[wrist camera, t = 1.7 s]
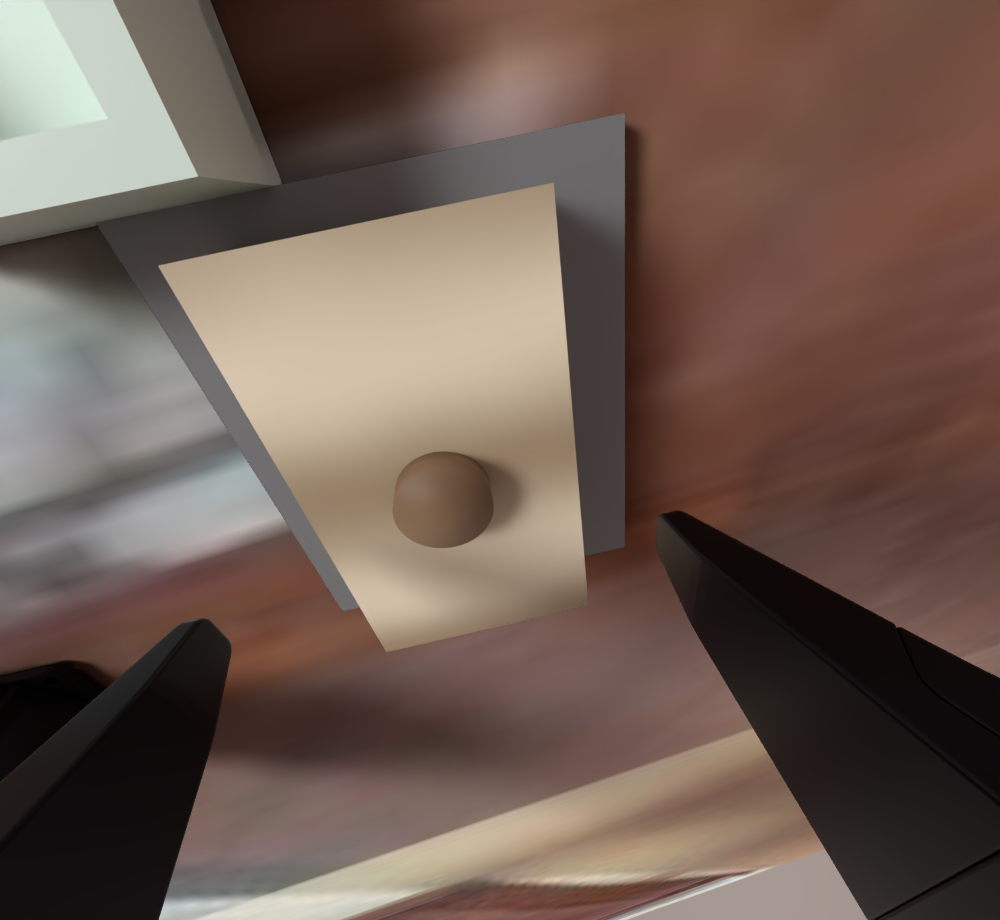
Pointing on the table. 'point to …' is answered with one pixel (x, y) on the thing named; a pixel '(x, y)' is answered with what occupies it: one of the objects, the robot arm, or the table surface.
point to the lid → (414, 404)
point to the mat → (407, 188)
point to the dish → (119, 113)
